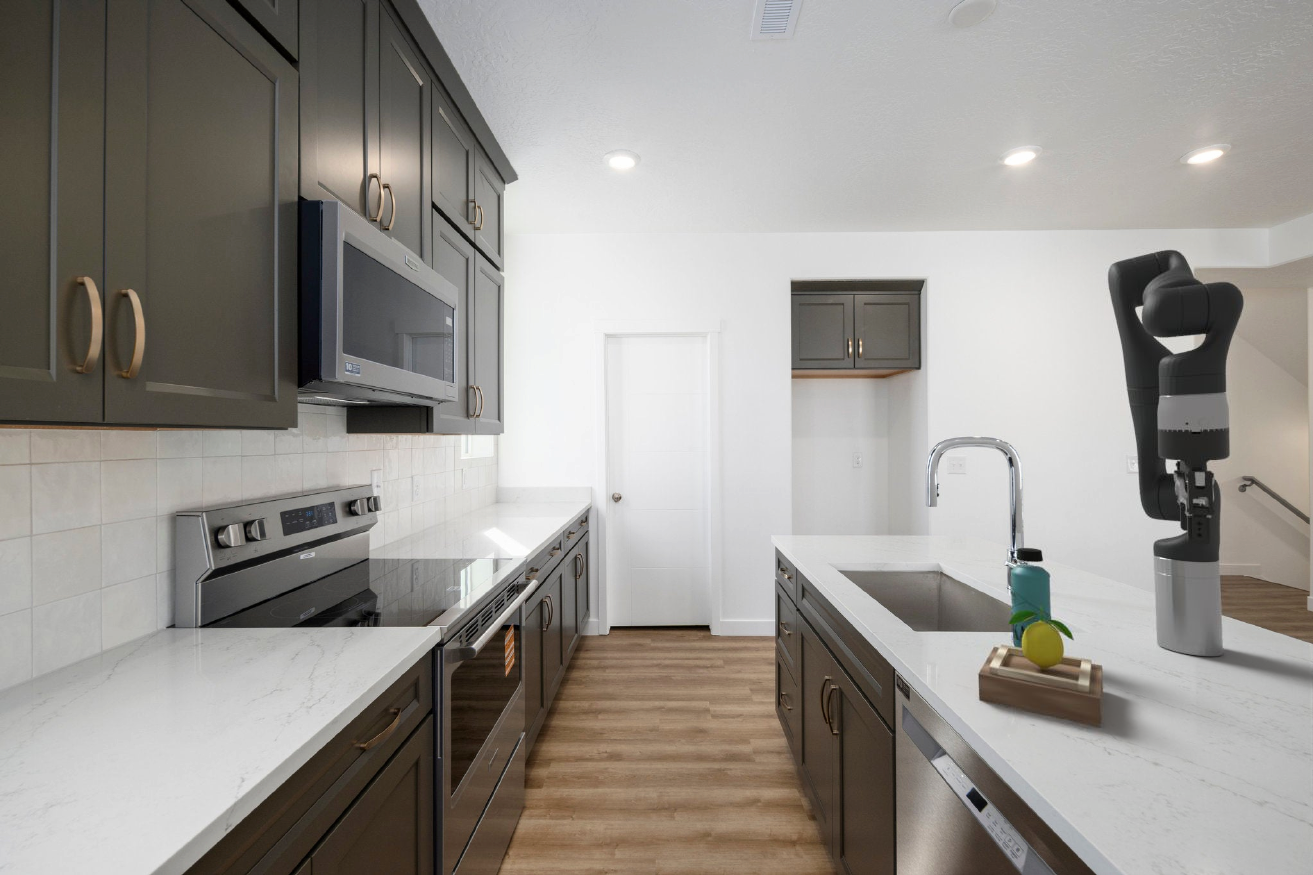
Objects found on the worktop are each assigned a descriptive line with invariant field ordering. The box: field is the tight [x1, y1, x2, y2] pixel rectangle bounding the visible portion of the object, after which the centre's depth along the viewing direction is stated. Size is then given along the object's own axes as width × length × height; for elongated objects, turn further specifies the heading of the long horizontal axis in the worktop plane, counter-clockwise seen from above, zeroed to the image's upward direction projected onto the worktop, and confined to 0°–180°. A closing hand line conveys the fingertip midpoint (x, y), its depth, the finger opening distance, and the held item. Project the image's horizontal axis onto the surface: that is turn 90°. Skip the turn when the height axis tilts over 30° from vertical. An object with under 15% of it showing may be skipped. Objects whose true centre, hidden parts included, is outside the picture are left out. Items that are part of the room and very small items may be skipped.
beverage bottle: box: [1010, 547, 1053, 648], centre depth 107 cm, size 6×7×20 cm
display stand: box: [977, 644, 1104, 728], centre depth 90 cm, size 15×15×5 cm
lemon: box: [1007, 606, 1075, 670], centre depth 90 cm, size 7×6×10 cm
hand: (1194, 536), depth 83 cm, fingers open, 8 cm apart
